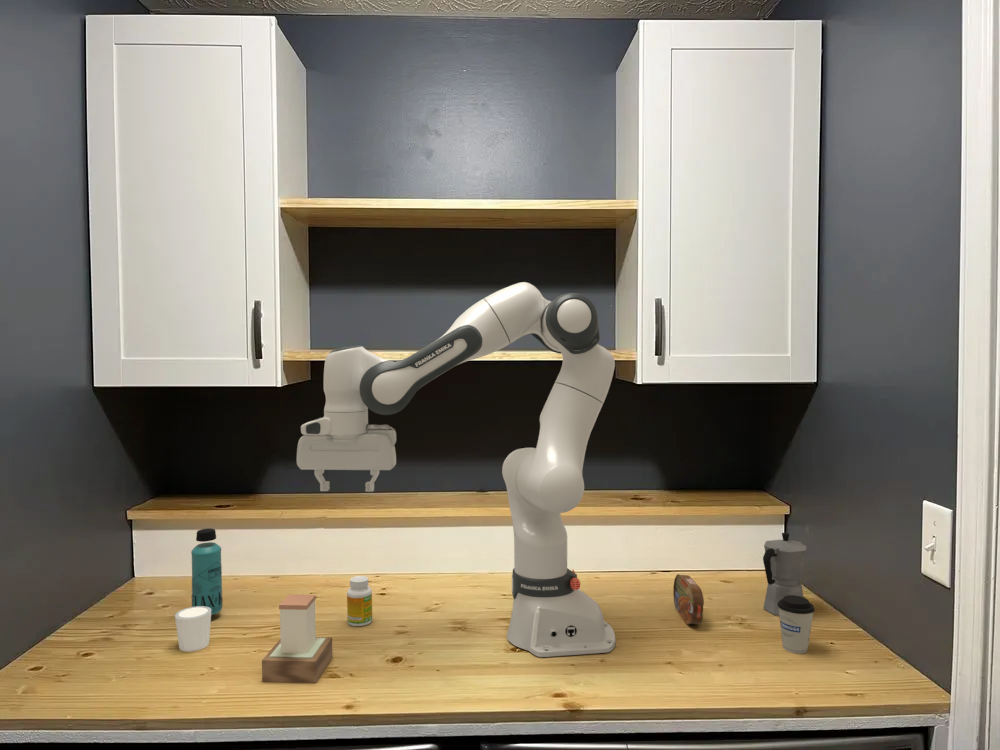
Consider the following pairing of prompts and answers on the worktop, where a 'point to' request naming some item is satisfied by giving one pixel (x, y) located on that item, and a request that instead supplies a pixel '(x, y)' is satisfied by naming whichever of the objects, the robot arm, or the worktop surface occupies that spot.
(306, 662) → the base
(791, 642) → the coffee cup
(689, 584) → the tin
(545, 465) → the robot arm
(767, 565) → the coffeepot
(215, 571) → the beverage bottle
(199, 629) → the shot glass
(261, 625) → the worktop surface
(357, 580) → the supplement bottle
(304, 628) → the two-tone lidded box
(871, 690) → the worktop surface
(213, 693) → the worktop surface
